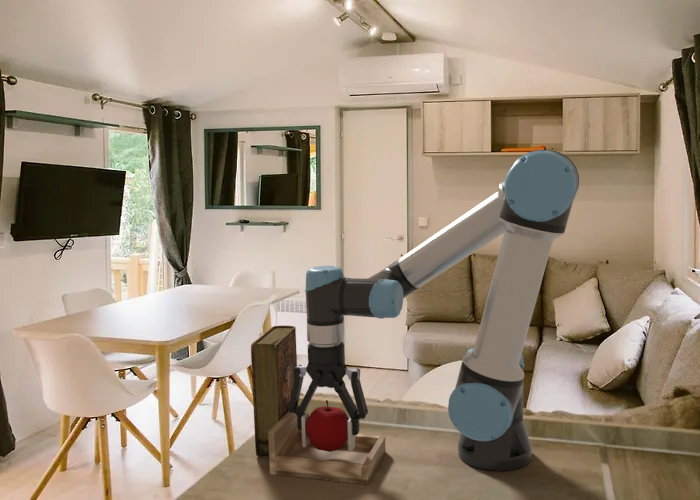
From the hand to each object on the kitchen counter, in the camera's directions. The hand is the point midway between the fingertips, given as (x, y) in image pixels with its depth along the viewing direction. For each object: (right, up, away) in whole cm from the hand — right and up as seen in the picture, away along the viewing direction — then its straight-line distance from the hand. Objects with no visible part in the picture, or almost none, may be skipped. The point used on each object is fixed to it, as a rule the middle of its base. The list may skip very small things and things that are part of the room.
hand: (328, 446), depth 145 cm
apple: (0, 0, 0) cm, 0 cm away
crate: (0, -3, 0) cm, 3 cm away
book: (-11, -2, +11) cm, 16 cm away
